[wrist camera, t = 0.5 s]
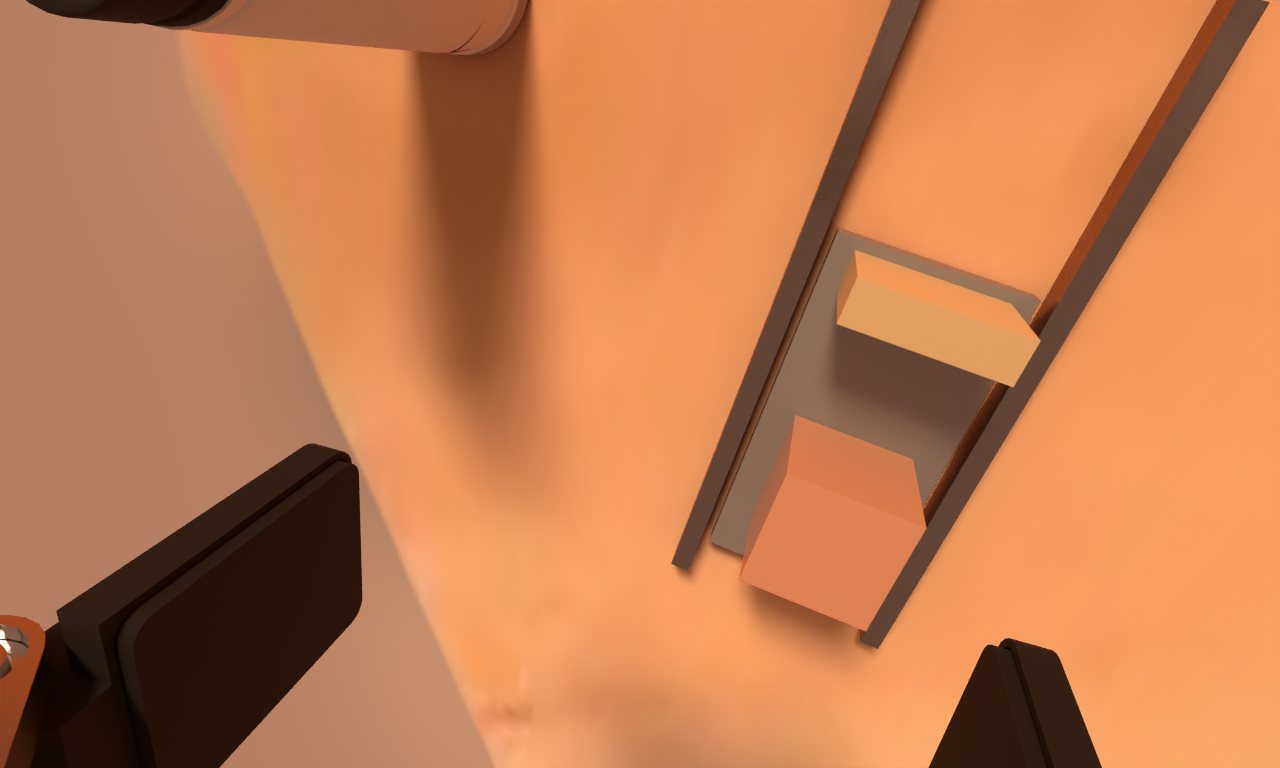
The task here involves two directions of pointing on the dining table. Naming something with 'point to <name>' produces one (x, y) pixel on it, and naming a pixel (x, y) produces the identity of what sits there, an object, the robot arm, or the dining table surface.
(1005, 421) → the rails
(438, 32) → the travel mug
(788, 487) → the block
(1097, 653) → the dining table surface
